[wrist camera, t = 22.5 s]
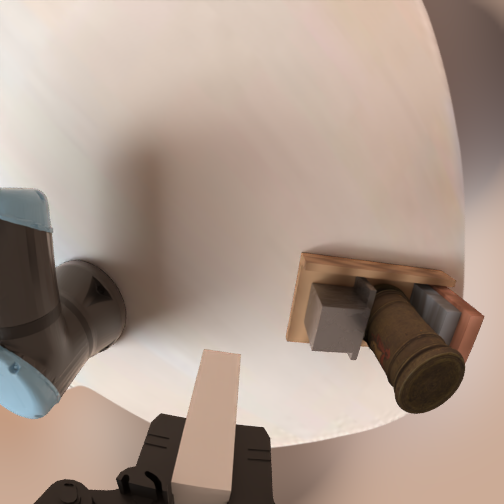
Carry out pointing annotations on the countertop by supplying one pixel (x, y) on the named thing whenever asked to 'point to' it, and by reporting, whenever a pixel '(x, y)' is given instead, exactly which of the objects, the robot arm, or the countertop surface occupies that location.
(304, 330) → the rack
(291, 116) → the countertop surface
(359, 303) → the bookend
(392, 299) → the container
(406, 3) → the countertop surface
